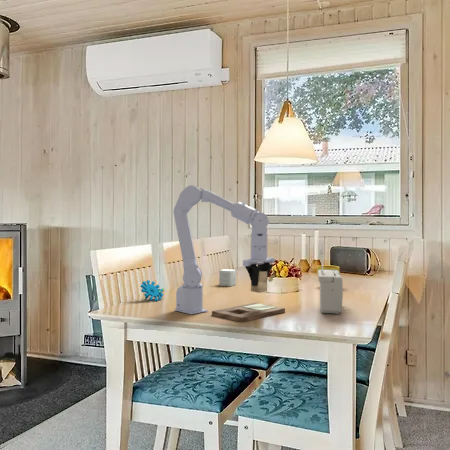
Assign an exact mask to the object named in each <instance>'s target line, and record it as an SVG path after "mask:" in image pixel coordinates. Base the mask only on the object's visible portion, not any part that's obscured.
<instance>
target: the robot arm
mask: <svg viewBox="0 0 450 450" xmlns="http://www.w3.org/2000/svg"><path fill="white" fill-rule="evenodd" d="M200 201H201V203H211V204H213V205H216V206H218V207H221V208H223V209H224V210H226V211H227V210H228V211H229V212H230V215H231V217H233V218H235V219H237V220H239V221H241V222H243V223H245V224H247V225H248V224H250V225H251V233H250V234H251V235H250V239H251V240H250V258H247V259H243V260H242V267H244V268H245V270H246V271H247V273H248V275H249V276H248V277H249V278H250V284H251V283H252V286H257V285H258V276H259V271H267V280H268V278H269V275H270V273H271V270H272V269H273V266H274V265H273V264H275V260H276V259H275V257H268V225H269V223H270V222H269V221H270V220H269V218H268V216H267V214H265V213H264V212H261V211H259V209H258V208H253V207H251V206H248V204H247V203H246V202H244V201H242V202H241V201H237V202H232V201H230V200H228V199H226V198H224V197H222V196H220V195H219V194H217V193H215V192H213V191H211V190H207V189H205V188H201V187H200V188H199V187H198V186H196V185H194V184H193V185H187V186H185V188H183V190H181V192H180V193H179V195H178V198H177V201H176V203H175V206H174V208H173V217H174V223H175V227H176V231H177V238H178V242H179V247H180V252H181V257H182V265H183V275H182V281H183V283H182V285H180V286H178V288H177V290H176V293H175V295H176V296H175V298H176V299H175V308H174V312H175V311H176V312H180V313H183V314H189V315H195V314H201V313H205V312H209V310H208V309H207V308H206V309H205V308H203V307H204V305H203V304H204V303H203V301H204V300H203V296H204V294H203V293H204V292H203V290H204V287H203V284H202V283H201V280H202V276H203V272H202V270H201V268H200V267H199V265H198V262H197V261H198V259H197V256H196V253H195V247H194V242H193V237H192V234H191V233H192V232H191V228H190V222H189V217H188V214H189V212H190V211H191V210H192V208H193V207H194V206H195V205H197V204H198V203H199V202H200Z"/></svg>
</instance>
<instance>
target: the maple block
mask: <svg viewBox="0 0 450 450" xmlns="http://www.w3.org/2000/svg"><path fill="white" fill-rule="evenodd" d="M250 292H253V293H254V292H255V293H265V292H268V279H267V271H259V276H258V285H257V286H252V283H251V282H250Z"/></svg>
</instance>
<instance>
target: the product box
mask: <svg viewBox="0 0 450 450" xmlns="http://www.w3.org/2000/svg"><path fill="white" fill-rule="evenodd" d="M218 274H219V276H218V279H219V286H221V287H222V286H224V287H233V286H236V285H237V270H236V269H229V268H228V269H227V268H223V269H220V270H219V273H218Z"/></svg>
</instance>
